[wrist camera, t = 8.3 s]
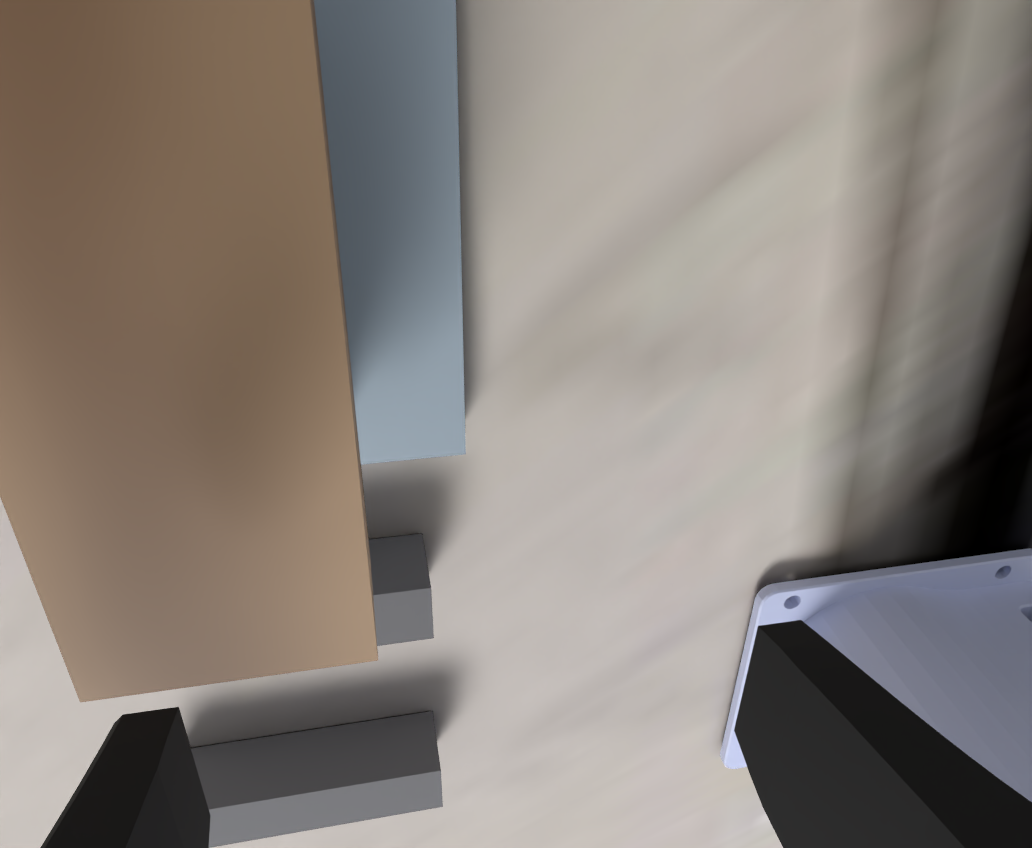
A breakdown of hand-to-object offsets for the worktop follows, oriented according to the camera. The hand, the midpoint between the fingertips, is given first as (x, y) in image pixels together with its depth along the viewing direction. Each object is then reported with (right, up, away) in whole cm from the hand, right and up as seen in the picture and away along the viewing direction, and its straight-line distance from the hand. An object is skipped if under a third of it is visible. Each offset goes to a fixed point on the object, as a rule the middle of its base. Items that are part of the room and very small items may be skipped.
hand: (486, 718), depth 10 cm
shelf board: (-4, +5, +2) cm, 7 cm away
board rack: (-5, -3, +11) cm, 13 cm away
